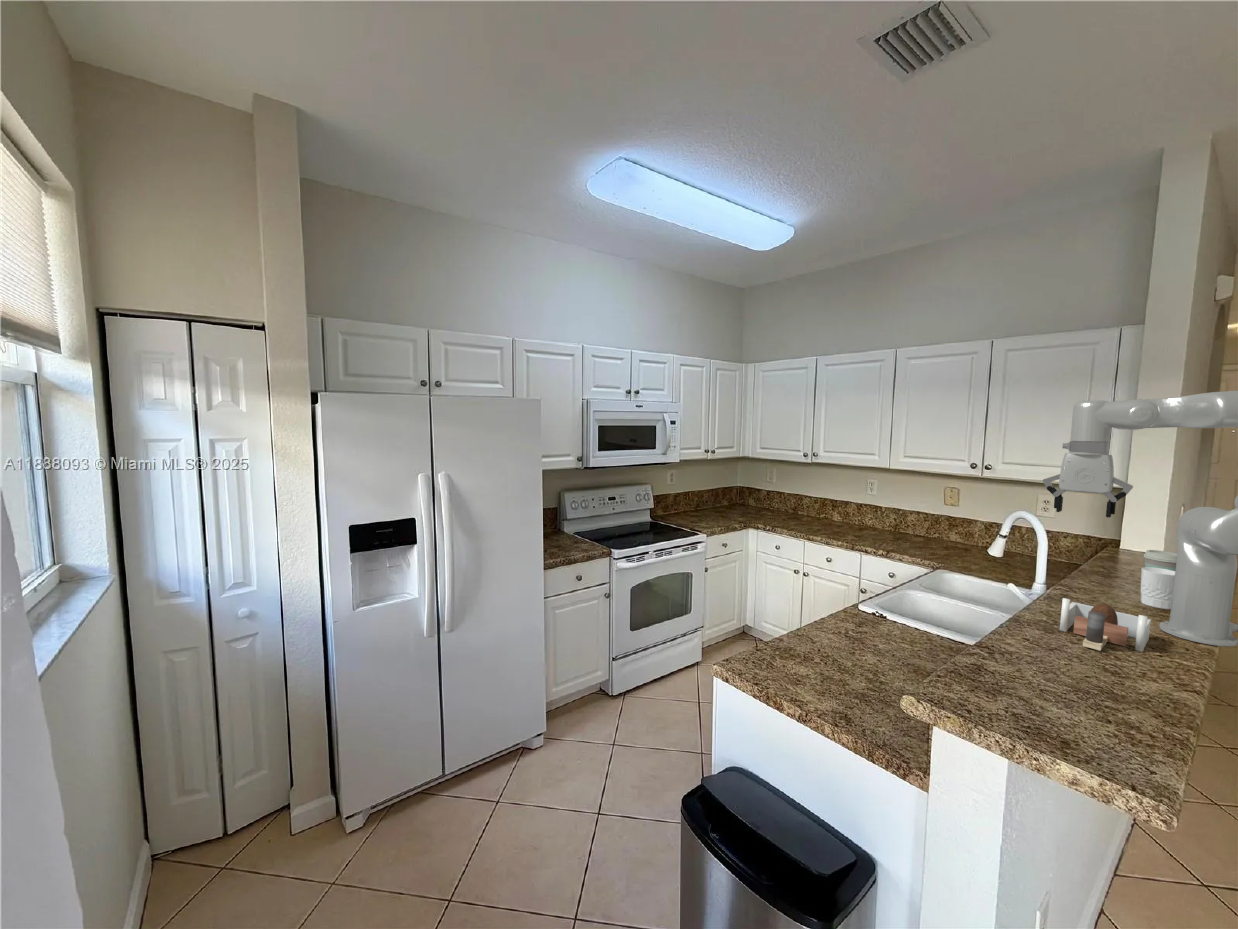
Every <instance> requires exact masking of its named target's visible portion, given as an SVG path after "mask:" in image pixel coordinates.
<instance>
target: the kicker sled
mask: <svg viewBox="0 0 1238 929" xmlns="http://www.w3.org/2000/svg"><path fill="white" fill-rule="evenodd" d="M1072 632H1073V634H1077V635H1080V636H1084V639H1083V640H1082V646H1083V647H1085V648H1090V649H1093V650H1096V651H1100V652H1101V650H1103V648H1104V647H1105V646H1106V644H1107V643H1111V644H1115V645H1119V646H1122V647H1126V646H1127V641H1128V636H1127V635H1128V628H1127V627H1123V626H1119V625H1115V624H1110V623H1106V622H1105V614H1103V613H1100V612H1095V611H1089V613H1088V618H1085V617H1081V616H1077V615H1076V616H1075V622H1074V624H1073V631H1072Z"/></svg>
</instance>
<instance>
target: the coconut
mask: <svg viewBox="0 0 1238 929" xmlns="http://www.w3.org/2000/svg"><path fill="white" fill-rule="evenodd" d="M1091 611H1095V612H1100V613H1103V614H1105V622H1106V623H1110V624H1115V625H1118V619H1117V614H1116V612H1117V611H1116V610H1115V609H1114V608H1113V607H1112V606H1111V605H1109V604H1107V603H1099V604H1096V605H1094V606H1093V608H1092V609H1091ZM1115 611H1116V612H1115Z"/></svg>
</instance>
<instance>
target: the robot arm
mask: <svg viewBox="0 0 1238 929" xmlns="http://www.w3.org/2000/svg"><path fill="white" fill-rule="evenodd" d="M1072 407H1073V408H1072V419H1071V428H1070V439H1069V440H1070V441H1069V442H1066V443H1062V449H1065V450H1068V452H1067V453H1066V452H1065V453H1064V455H1063V459H1062V462H1061V468H1060V473H1059V474H1056V475H1053V476H1049V477H1046V478H1043V479H1042V483H1043V484H1044V486H1045V488H1046V489H1047V491H1049V493H1050V494H1052V496H1053V498H1054V499H1053V500H1054V501H1053V508H1054V509H1056V513H1060V512H1062V511H1063V503H1064V502H1063V501H1064V497H1063V494H1064V493H1065V492H1074V493H1084V494H1085V493H1087V494H1099V495H1104V496H1105V497H1106V498H1107V499H1108V501H1107V502H1106V508H1105V509H1106V510H1105V511H1106V512H1105V517H1106V518H1109V519H1110V518H1111V517H1112V515H1115V514H1116V507H1117V506H1116V505H1117V502H1118V501H1120V500H1121V499H1123V498H1124V497H1126V496H1127V495H1128V494H1129V493H1130V492H1131V491H1132V489H1133V488H1134V486H1133V484H1130V483H1128V482H1126V481H1123V480H1122V479H1120V478H1117V477H1115V476H1114V475H1115V470H1114V469H1115V468H1114V459H1113V455H1112V454H1109V453H1110V444H1111V433H1112V428H1113V429H1117V430H1123V431H1124V430H1129V431H1130V430H1131V431H1132V430H1134V431H1136V430H1137V431H1139V430H1145V429H1157V428H1159V429H1160V428H1161V429H1163V428H1187V429H1188V428H1190V429H1222V428H1223V429H1225V428H1238V390H1227V391H1212V392H1211V391H1210V392H1202V393H1196V394H1190V395H1184V396H1174V397H1162V398H1150V399H1149V398H1148V399H1142V398H1141V399H1140V398H1136V399H1135V398H1134V399H1125V400H1118V401H1117V400H1113V401H1112V400H1111V401H1109V400H1102V399H1101V400H1099V399H1097V400H1096V399H1095V400H1081V401H1080V400H1079V401H1076V402H1075V404H1073V406H1072ZM1058 480H1059V481H1058ZM1055 481H1058V489H1056V487H1054V486H1053V484H1052V483H1053V482H1055ZM1114 484H1115V485H1118V486H1119V487H1121V488H1122V490H1121V491H1120V492H1118V493H1117V494H1115V493H1114V492H1113V489H1114ZM1175 532H1176V545H1177V546H1176V547H1177V548H1176V549H1177V550H1176V552H1177V553H1176V554H1177V562H1176V570H1175V578H1174V587H1173V595H1172V604H1171V609H1170V615H1169V620H1167V621H1166V620H1165V621H1161V622H1159V629H1160V630H1162V631H1163V632H1165V633H1167V634H1169V635H1171V636H1174V637H1176V638H1180V639H1183V640H1187V641H1191V642H1195V643H1200V644H1205V645H1210V646H1218V647H1235V646H1238V638H1236V637H1235V636H1233V634H1235V633H1236V632H1237V633H1238V623H1234V622H1232V621H1231V617H1232V615H1231V614H1232V608H1233V600H1234V592H1235V585H1236V578H1237V573H1238V572H1237V570H1238V557H1237V556H1238V494H1237V495H1236V496H1235V498H1234V508H1233V509H1232V510H1227V509H1224V508H1219V507H1214V506H1213V507H1212V506H1200V507H1199V506H1198V507H1194V508H1191V509H1189V510H1187V511H1185V512H1184V513H1182V514H1181V516H1180V517H1179V519H1178V520H1177V522H1176V531H1175Z"/></svg>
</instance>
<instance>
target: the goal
mask: <svg viewBox="0 0 1238 929" xmlns="http://www.w3.org/2000/svg"><path fill="white" fill-rule="evenodd" d="M1093 607H1094V606H1093V605H1089V604H1084V603H1080V602H1076V601H1075V602H1074V601H1071V599H1070V598H1067V597H1062V603H1061V612H1060V623H1059V631H1061V632H1065V633H1066V632H1068V630H1069V629H1070V628H1071V626H1074V622H1075V616H1076V615H1077V616H1081V617H1085V618H1088V613H1089V611H1091V609H1092V608H1093ZM1115 612H1116V614H1117V619H1118V625H1119V626H1123V627H1127V628H1128V635H1127V637H1131V638H1134V639H1135V644H1134V645H1135V646H1134V650H1135V651H1138V652H1141V653H1142V652H1144V651H1145V647H1146V645H1147V643H1148V642H1149V639H1150V631H1151V625H1152V624H1151V622H1152V619H1151V618H1148V616H1147V615H1143V614H1138V616H1136V615H1132V614H1129V613H1124V612H1120V611H1116V610H1115Z"/></svg>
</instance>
